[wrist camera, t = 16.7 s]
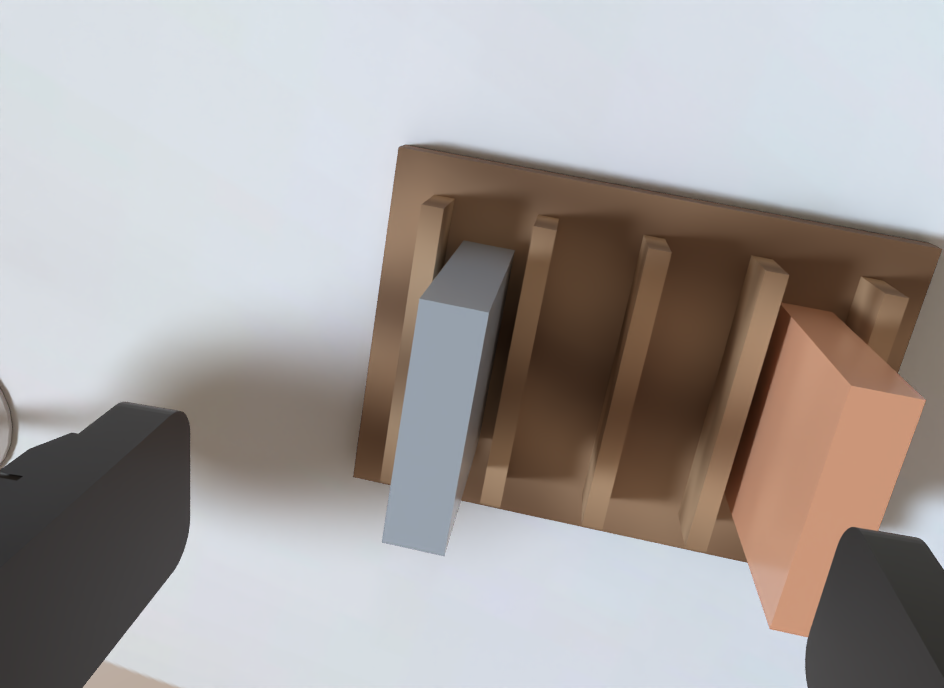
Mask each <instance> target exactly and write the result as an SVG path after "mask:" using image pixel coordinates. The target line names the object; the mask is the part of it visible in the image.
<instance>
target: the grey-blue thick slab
mask: <svg viewBox="0 0 944 688" xmlns="http://www.w3.org/2000/svg"><path fill="white" fill-rule="evenodd" d="M514 253H515V250H511V249H506V248H501V247H496V246H491V245H485V244H480V243H475V242H470V241H465V240H464V241H463V242H462V243H461V245H460V246H459V247H458V249H457V250H456V251H455V253H454V254H453V255H452V256H451V258H450V259H449V260H448V262H447V263H446V264H445V266H444V267H443V268H442V270H441V271H440V272H439V274H438V275H437V276H436V278H435V279H434V280H433V281H432V283H431V284H430V285H429V287H428V288H427V289H426V291H425V292H424V293H423V295H422V296H421V297H420V299H419V305H418V311H417V318H416V324H415V331H414V337H413V344H412V350H411V357H410V363H409V369H408V376H407V382H406V389H405V395H404V402H403V408H402V415H401V421H400V428H399V434H398V441H397V447H396V454H395V460H394V467H393V473H392V480H391V486H390V493H389V499H388V505H387V512H386V518H385V525H384V531H383V538H382V542H383V543H387V544H392V545H396V546H400V547H405V548H409V549H414V550H418V551H423V552H427V553H432V554H436V555H441V556H445V552H446V549H447V546H448V542H449V539H450V535H451V532H452V529H453V525H454V522H455V519H456V515H457V512H458V509H459V505H460V502H461V499H462V495H463V492H464V488H465V485H466V482H467V478H468V475H469V472H470V468H471V465H472V462H473V458H474V455H475V452H476V448H477V445H478V441H479V438H480V433H481V427H482V422H483V417H484V412H485V406H486V401H487V396H488V390H489V385H490V380H491V375H492V369H493V364H494V359H495V353H496V348H497V343H498V337H499V332H500V327H501V322H502V316H503V311H504V306H505V300H506V295H507V290H508V285H509V279H510V274H511V269H512V263H513V258H514Z"/></svg>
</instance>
